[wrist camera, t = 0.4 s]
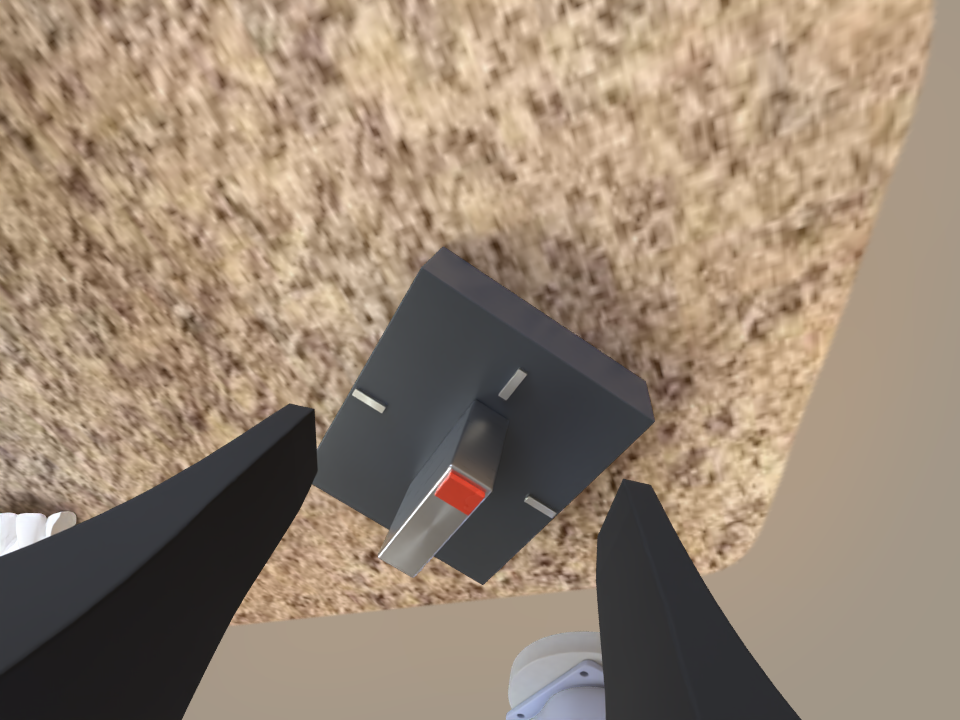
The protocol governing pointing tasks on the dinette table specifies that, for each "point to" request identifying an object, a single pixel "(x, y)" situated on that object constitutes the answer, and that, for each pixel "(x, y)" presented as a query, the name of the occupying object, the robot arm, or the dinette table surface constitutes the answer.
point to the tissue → (30, 528)
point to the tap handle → (446, 490)
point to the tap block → (496, 384)
